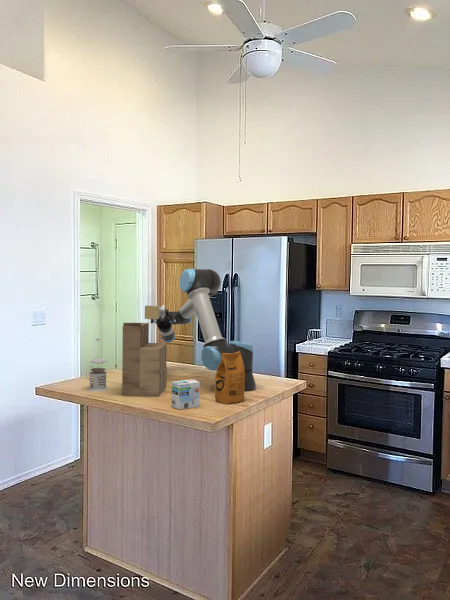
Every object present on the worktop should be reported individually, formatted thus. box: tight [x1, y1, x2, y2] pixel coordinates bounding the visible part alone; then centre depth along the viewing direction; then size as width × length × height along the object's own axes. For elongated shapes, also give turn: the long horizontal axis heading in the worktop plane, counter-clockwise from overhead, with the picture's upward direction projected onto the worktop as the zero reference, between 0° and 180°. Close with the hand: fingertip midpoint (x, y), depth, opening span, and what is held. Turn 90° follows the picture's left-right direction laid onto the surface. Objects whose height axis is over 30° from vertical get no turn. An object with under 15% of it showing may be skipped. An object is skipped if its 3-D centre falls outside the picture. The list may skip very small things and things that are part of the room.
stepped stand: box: [121, 322, 168, 398], centre depth 247 cm, size 20×17×34 cm
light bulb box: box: [171, 378, 201, 410], centre depth 221 cm, size 11×7×11 cm, turn 126°
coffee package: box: [214, 351, 245, 405], centre depth 231 cm, size 10×12×22 cm
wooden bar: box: [144, 304, 166, 320], centre depth 253 cm, size 28×6×6 cm, turn 177°
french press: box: [85, 337, 109, 392], centre depth 250 cm, size 10×12×25 cm
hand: (158, 307), depth 258 cm, fingers closed on wooden bar, 4 cm apart
